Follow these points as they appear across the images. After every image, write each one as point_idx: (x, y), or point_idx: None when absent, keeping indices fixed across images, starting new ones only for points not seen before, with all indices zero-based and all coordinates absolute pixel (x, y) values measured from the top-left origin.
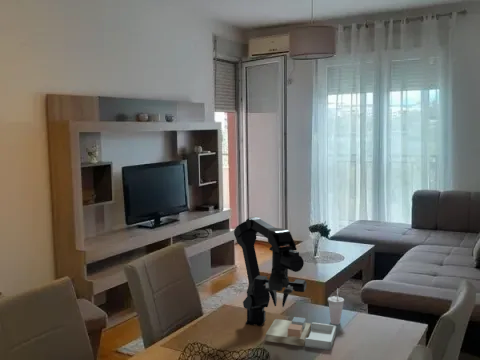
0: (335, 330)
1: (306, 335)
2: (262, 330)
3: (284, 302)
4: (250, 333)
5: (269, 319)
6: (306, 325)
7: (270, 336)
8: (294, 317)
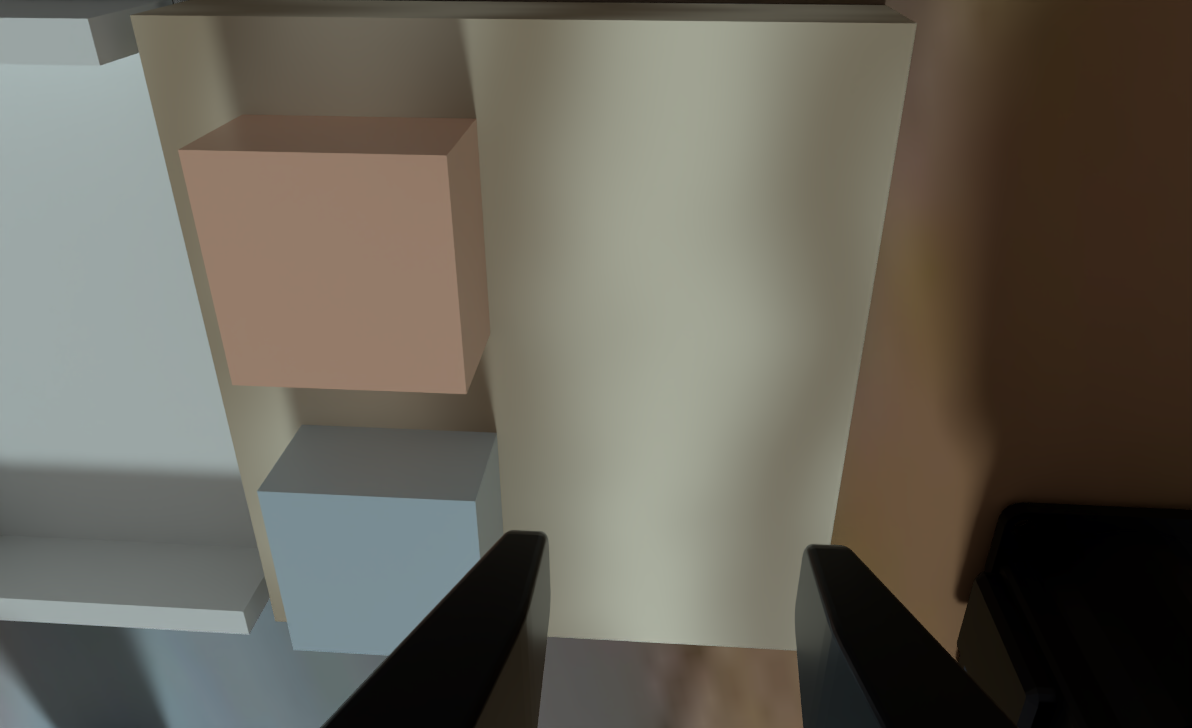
0: None
1: None
2: (972, 384)
3: (413, 644)
4: (1180, 227)
5: None
6: None
7: (802, 15)
8: None
